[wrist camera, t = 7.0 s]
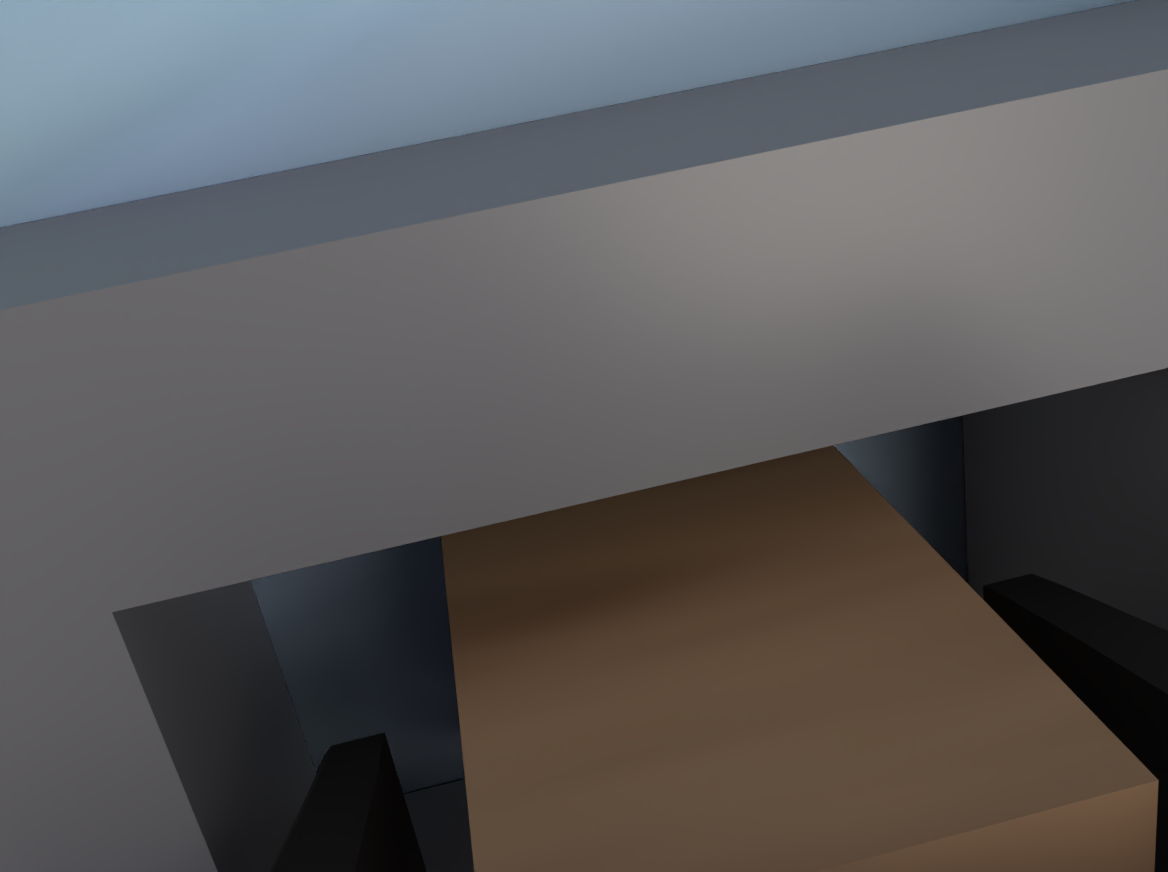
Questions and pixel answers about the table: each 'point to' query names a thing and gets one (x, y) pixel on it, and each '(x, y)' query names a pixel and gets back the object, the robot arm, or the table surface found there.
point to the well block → (553, 383)
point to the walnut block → (766, 694)
